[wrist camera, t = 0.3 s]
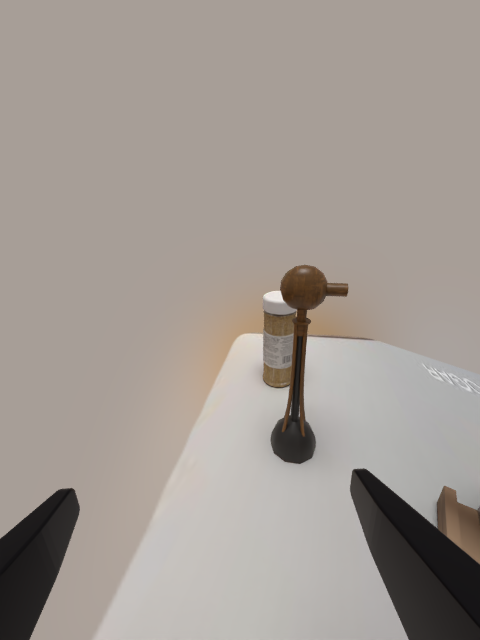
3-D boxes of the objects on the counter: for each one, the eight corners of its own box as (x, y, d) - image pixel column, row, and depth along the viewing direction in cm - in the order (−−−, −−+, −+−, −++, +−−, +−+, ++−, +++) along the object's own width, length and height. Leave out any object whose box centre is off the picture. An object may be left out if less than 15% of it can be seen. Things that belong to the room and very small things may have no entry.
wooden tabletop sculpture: (322, 431, 31) (345, 259, 23) (327, 467, 27) (356, 273, 19) (272, 426, 33) (276, 259, 24) (268, 459, 28) (273, 271, 20)
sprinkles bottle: (283, 368, 44) (286, 288, 38) (298, 384, 40) (305, 297, 34) (257, 374, 42) (257, 292, 37) (271, 392, 38) (273, 303, 33)
